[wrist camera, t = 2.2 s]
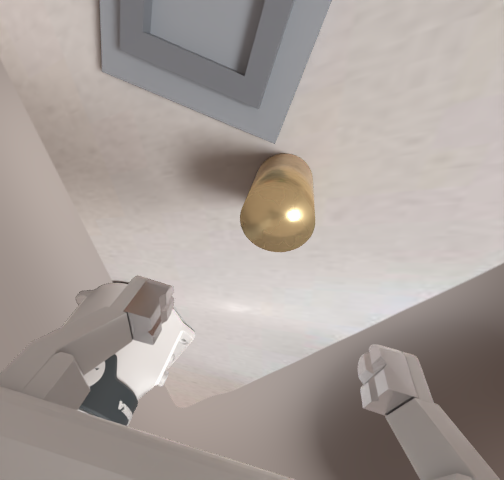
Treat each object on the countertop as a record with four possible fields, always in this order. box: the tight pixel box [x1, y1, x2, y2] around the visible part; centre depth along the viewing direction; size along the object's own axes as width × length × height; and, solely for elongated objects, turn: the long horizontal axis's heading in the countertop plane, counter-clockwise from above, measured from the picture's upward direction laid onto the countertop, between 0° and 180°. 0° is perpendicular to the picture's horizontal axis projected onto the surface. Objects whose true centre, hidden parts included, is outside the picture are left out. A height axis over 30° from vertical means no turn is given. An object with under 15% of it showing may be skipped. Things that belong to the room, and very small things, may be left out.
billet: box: [240, 153, 315, 252], centre depth 19 cm, size 5×5×7 cm
